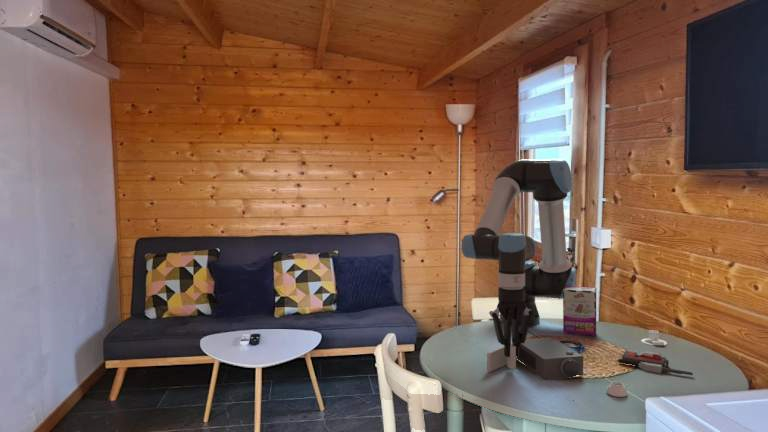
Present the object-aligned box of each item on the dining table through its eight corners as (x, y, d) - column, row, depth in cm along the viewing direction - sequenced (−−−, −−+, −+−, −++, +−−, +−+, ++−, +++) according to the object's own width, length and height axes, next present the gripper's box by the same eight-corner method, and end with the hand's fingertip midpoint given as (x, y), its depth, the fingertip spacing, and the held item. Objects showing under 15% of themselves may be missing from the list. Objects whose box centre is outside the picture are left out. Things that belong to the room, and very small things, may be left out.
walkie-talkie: (616, 367, 169) (692, 380, 158) (616, 352, 168) (692, 364, 158) (621, 359, 176) (694, 370, 165) (622, 345, 176) (695, 355, 165)
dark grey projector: (516, 359, 176) (516, 338, 175) (552, 356, 178) (552, 336, 177) (546, 382, 156) (546, 359, 156) (586, 379, 158) (586, 355, 158)
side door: (513, 359, 176) (513, 340, 175) (516, 359, 175) (516, 341, 174) (486, 371, 165) (486, 351, 165) (489, 372, 164) (489, 352, 164)
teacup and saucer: (665, 348, 186) (665, 336, 186) (639, 345, 190) (639, 333, 190) (668, 342, 193) (668, 330, 193) (642, 338, 198) (643, 327, 197)
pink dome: (628, 399, 145) (625, 391, 150) (629, 387, 145) (626, 380, 149) (607, 397, 146) (605, 390, 151) (608, 386, 146) (605, 379, 151)
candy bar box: (596, 331, 204) (597, 287, 201) (596, 336, 199) (596, 291, 196) (563, 328, 208) (564, 285, 205) (562, 333, 203) (562, 289, 200)
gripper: (495, 290, 158) (495, 373, 160) (538, 288, 160) (538, 369, 162) (485, 285, 165) (485, 364, 167) (527, 283, 168) (526, 361, 170)
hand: (511, 367), depth 165 cm, fingers closed
